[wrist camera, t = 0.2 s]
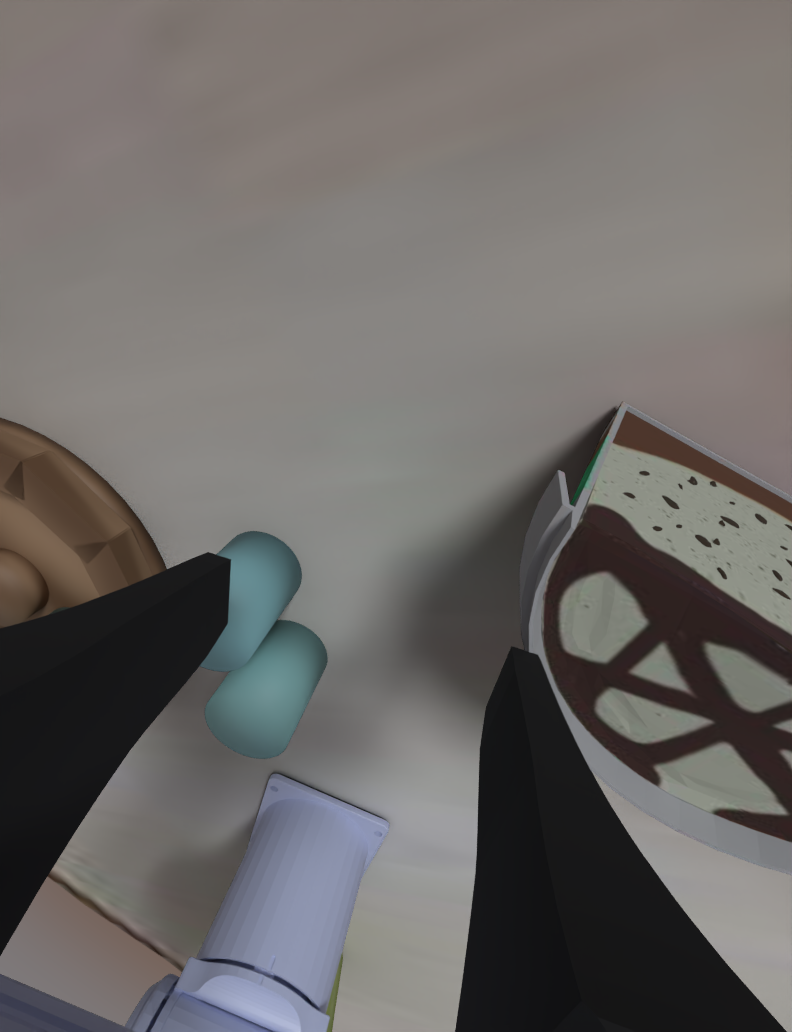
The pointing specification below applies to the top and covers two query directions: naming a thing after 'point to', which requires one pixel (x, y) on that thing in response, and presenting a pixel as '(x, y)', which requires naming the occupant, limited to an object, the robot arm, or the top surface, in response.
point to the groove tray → (62, 530)
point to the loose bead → (268, 692)
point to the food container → (671, 633)
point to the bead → (253, 596)
